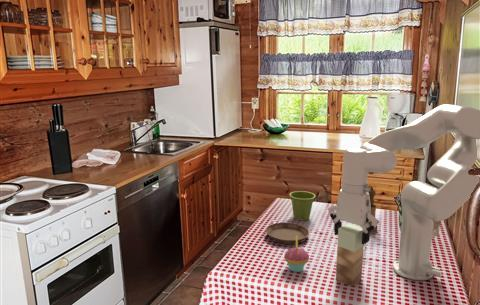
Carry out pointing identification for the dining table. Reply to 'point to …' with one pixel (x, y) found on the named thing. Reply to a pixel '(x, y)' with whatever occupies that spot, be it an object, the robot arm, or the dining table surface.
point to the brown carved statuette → (372, 209)
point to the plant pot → (302, 204)
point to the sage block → (350, 237)
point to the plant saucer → (287, 232)
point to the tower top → (349, 257)
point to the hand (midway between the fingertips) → (351, 238)
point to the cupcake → (296, 258)
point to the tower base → (348, 274)
